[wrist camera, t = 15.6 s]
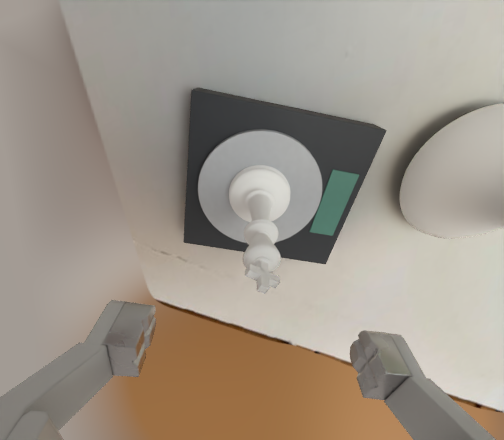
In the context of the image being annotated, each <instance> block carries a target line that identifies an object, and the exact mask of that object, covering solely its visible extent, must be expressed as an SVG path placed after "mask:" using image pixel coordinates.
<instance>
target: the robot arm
mask: <svg viewBox="0 0 504 440" xmlns="http://www.w3.org/2000/svg"><path fill="white" fill-rule="evenodd" d="M154 314H155V306H153V305H145V304H138V303H130V302H124V301H116V300H112V301H110V302H109V303H108V304H107V306H106V308H105V309H104V311H103V312H102V314H101V316H100V317H99V319H98V321H97V322H96V324H95V326H94V327H93V329H92V331H91V332H90V334H89V336H88V337H87V339H86V341H85V342H84V343H78V344H77V345H75V346H74V347H72V348H71V349H70V350H68V351H67V352H65V353H64V354H62V355H61V356H59V357H58V358H56V359H55V360H54V361H52V362H51V363H49V364H48V365H46V366H45V367H43V368H42V369H41V370H39V371H38V372H36V373H35V374H33V375H32V376H30V377H29V378H28V379H26V380H25V381H23V382H22V383H20V384H19V385H17V386H16V387H15V388H13V389H12V390H10V391H9V392H7V393H6V394H4V395H3V396H1V397H0V440H64V439H63V438H62V436H61V434H60V433H59V430H60V429H61V428H62V427H63V426H64V425H65V424H66V423H67V422H68V421H69V420H70V419H71V418H72V417H73V416H74V415H75V414H76V413H77V412H78V411H79V410H80V409H81V408H82V407H83V406H84V405H85V404H86V403H87V402H88V401H89V400H90V399H91V398H92V397H93V396H94V395H95V394H96V393H97V392H98V391H99V390H100V389H101V388H102V387H103V386H104V385H105V384H106V383H107V382H108V381H109V380H110V379H111V378H112V377H113V375H117V376H133V377H138V376H139V374H140V372H141V369H142V366H143V364H144V361H145V358H146V353H145V349H146V348H147V347H149V346H150V344H151V341H152V339H153V335H154V331H155V325H156V319H155V318H154ZM358 336H359V339H358V340H356V341H354V342H353V344H352V345H351V347H350V359H351V362H352V366H353V367H354V368H355V369H356V371H357V372H358V376H357V380H358V383H359V386H360V389H361V392H362V395H363V397H364V398H372V399H380V400H385V401H384V402H385V403H386V405H388V407H389V408H390V410H391V411H392V412H393V414H394V415H395V416H396V418H397V419H398V420H399V422H400V423H401V424H402V425H403V427H404V428H405V429H406V430H407V432H408V433H409V434H410V436H411V437H412V438H413V440H496V439H495V438H494V437H493V436H492V435H491V434H489V433H488V432H487V431H486V430H485V429H484V428H483V427H482V426H481V425H480V424H479V423H477V422H476V421H475V420H474V419H473V418H472V417H471V416H470V415H469V414H468V413H467V412H466V411H464V410H463V409H462V408H461V407H460V406H459V405H458V404H457V403H456V402H455V401H454V400H452V399H451V398H450V397H449V396H448V395H447V394H446V393H445V392H444V391H443V390H442V389H440V388H439V387H438V386H437V385H436V384H435V383H434V382H433V381H432V380H431V379H428V378H426V377H425V375H424V374H423V372H422V370H421V368H420V366H419V365H418V363H417V361H416V359H415V357H414V356H413V354H412V352H411V350H410V349H409V347H408V345H407V343H406V341H405V340H404V338H403V337H402V336H401V335H398V334H389V333H383V332H374V331H361V332H360V334H359V335H358Z"/></svg>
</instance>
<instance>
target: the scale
mask: <svg viewBox="0 0 504 440" xmlns="http://www.w3.org/2000/svg"><path fill="white" fill-rule="evenodd" d="M385 132H386V130H384V129H382V128H380V127H378V126H376V125H374V124H369V123H364V122H360V121H355V120H350V119H345V118H340V117H336V116H331V115H326V114H321V113H317V112H312V111H307V110H302V109H298V108H293V107H288V106H283V105H278V104H274V103H269V102H264V101H259V100H255V99H250V98H245V97H240V96H235V95H231V94H226V93H221V92H216V91H212V90H207V89H202V88H196V89H193V90H192V92H191V111H190V130H189V150H188V169H187V188H186V207H185V226H184V243H190V244H197V245H203V246H210V247H216V248H223V249H230V250H236V251H243V252H245V251H246V249H247V247H248V246H249V245H248V243H247V242H246V240H245V238H244V229H245V227H246V226H247V224H249V223H250V222H247V221H245V220H243V219H242V218H240V217H239V216H238V215H237V214H236V213H235V212H234V210H233V209H232V207H231V204H230V200H229V188H230V184H231V182H232V180H233V179H234V177H235V176H236V175H237V174H238V173H239V172H240V171H242V170H243V169H245V168H247V167H250V166H254V165H266V166H270V167H273V168H275V169H277V170H278V171H280V172H281V173H282V174H283V175H284V176H285V177H286V179H287V181H288V183H289V186H290V202H289V205H288V207H287V209H286V211H285V212H284V213H283V214H282V215H281V216H280V217H279V218H277V219H276V220H274V221H271V222H273V223H274V224H275V225H276V227H277V228H278V238H277V240H276V242H275V243H274V245H275V246H276V248H277V249H278V251H279V253H280V256H281V257H282V258H288V259H295V260H301V261H308V262H314V263H321V264H326V262H327V260H328V257H329V255H330V253H331V251H332V249H333V246H334V244H335V242H336V240H337V238H338V235H339V233H340V231H341V229H342V227H343V224H344V222H345V220H346V218H347V216H348V214H349V211H350V209H351V207H352V205H353V203H354V200H355V198H356V196H357V194H358V192H359V189H360V187H361V185H362V183H363V181H364V178H365V176H366V174H367V172H368V170H369V168H370V165H371V163H372V161H373V159H374V157H375V154H376V152H377V150H378V148H379V146H380V143H381V141H382V139H383V137H384V135H385Z"/></svg>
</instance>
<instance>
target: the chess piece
mask: <svg viewBox="0 0 504 440" xmlns="http://www.w3.org/2000/svg"><path fill="white" fill-rule="evenodd" d="M229 200H230V204H231V207H232V209H233V210H234V212H235V213H236V214H237V215H238V216H239V217H240V218H242V219H243V220H245V221H247V222H250V223H249V224H247V226H246V227H245V229H244V238H245V240H246V242H247V243H248V245H249V246H248V247H247V249H246V251H245V253H244V256H243V262H244V265H245V267H246V271H245V276H247V277H249V278H252V279H254V280H256V281H257V291H259V292H262V293H264V294H265V293H266V292H267V291H268V290H269V288H270V286H271V287H273V288H276V287H277V286H278V285H279V283H280V278H279V276H277V275H275V274H273V273H271V272H273V271H274V270H276V269H277V268H278V266H279V265H280V262H281V256H280V253H279V251H278V249H277V248H276V246H275V245H274V243H275V242H276V240H277V238H278V228H277V227H276V225H275V224H274V223H273V222H271V221H274V220H276V219H277V218H279V217H280V216H281V215H282V214H283V213H284V212H285V211H286V209H287V207H288V205H289V202H290V186H289V183H288V181H287V179H286V177H285V176H284V175H283V174H282V173H281V172H280V171H278V170H277V169H275V168H273V167H270V166H266V165H254V166H250V167H247V168H245V169H243V170H242V171H240V172H239V173H238V174H237V175H236V176H235V177H234V179H233V180H232V182H231V184H230V188H229Z"/></svg>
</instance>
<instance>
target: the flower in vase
mask: <svg viewBox="0 0 504 440" xmlns="http://www.w3.org/2000/svg"><path fill="white" fill-rule="evenodd" d="M400 206H401V210H402V213H403V215H404V217H405V219H406V220H407V221H408V223H409V224H410V225H412V226H413V227H414V228H416V229H417V230H419V231H421V232H423V233H426V234H429V235H432V236H435V237H440V238H450V239H454V238H465V237H472V236H478V235H482V234H486V233H489V232H492V231H495V230H498V229H501V228H504V103H502V104H495V105H490V106H486V107H483V108H480V109H477V110H474V111H472V112H470V113H468V114H465V115H463V116H461V117H460V118H458V119H456V120H454V121H453V122H451V123H449V124H448V125H446V126H445V127H444V128H442V129H441V130H439V131H438V132H437V133H436V134H434V135H433V136H432V137H431V138H430V139H429V140H428V141H427V142H426V143H425V144H424V145H423V146H422V147H421V148H420V149H419V151H418V152H417V153H416V154H415V156H414V157H413V159H412V160H411V162H410V164H409V166H408V168H407V169H406V172H405V175H404V177H403V180H402V184H401V188H400Z"/></svg>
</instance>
